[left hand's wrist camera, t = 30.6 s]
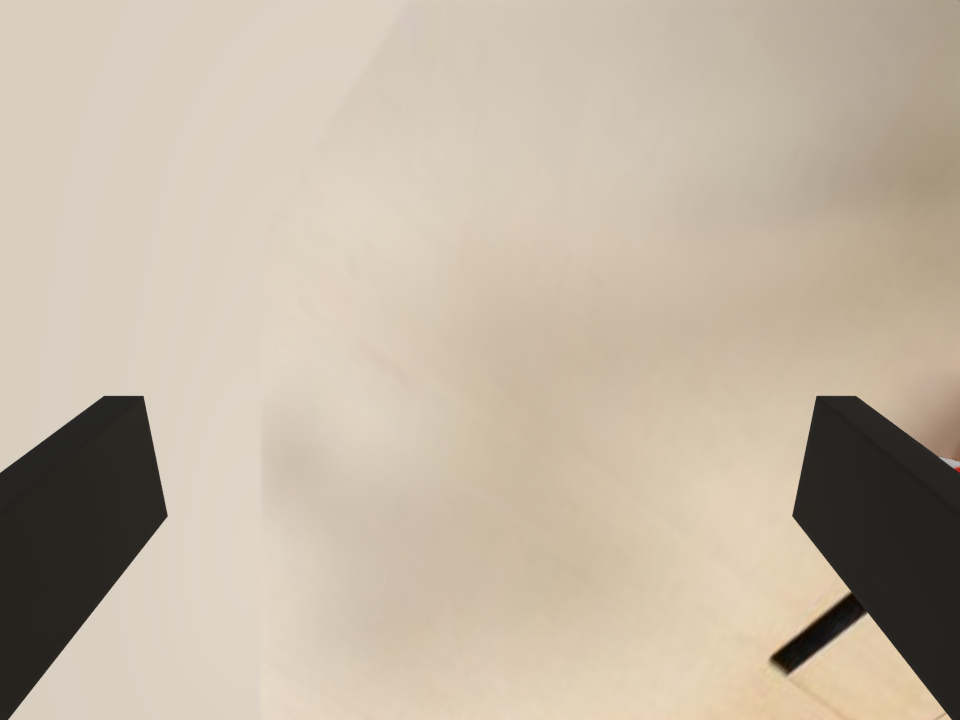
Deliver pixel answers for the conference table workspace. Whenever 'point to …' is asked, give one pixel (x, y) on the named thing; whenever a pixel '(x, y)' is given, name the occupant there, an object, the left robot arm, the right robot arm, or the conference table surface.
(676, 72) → the conference table surface
